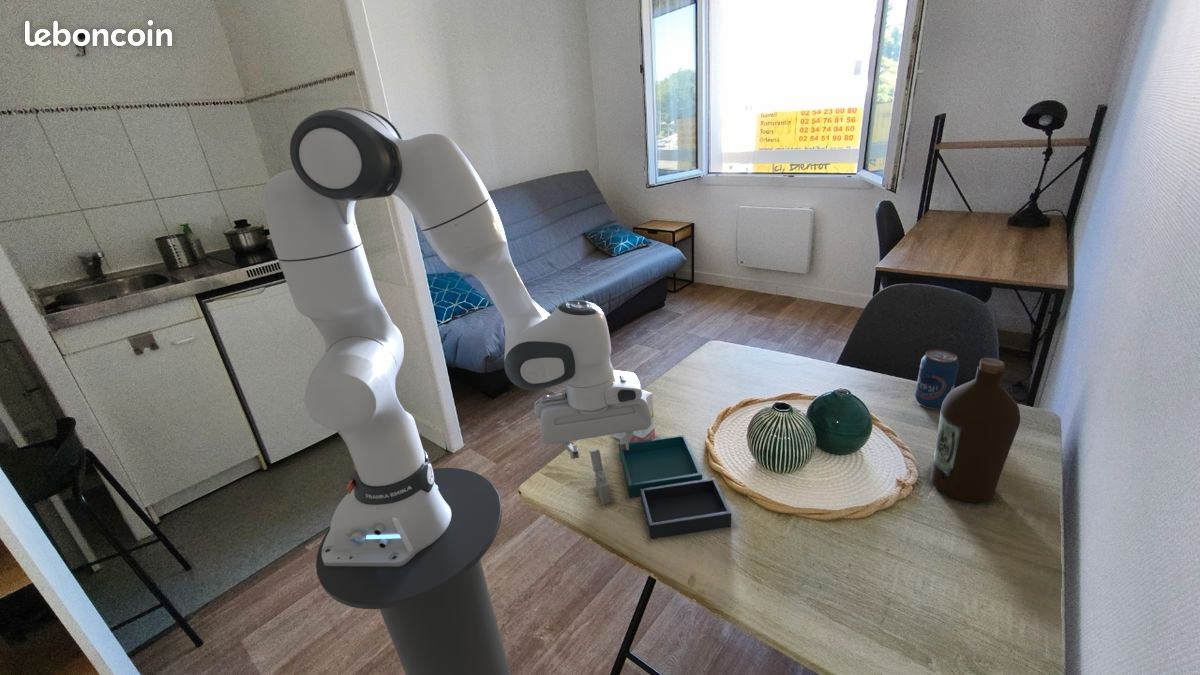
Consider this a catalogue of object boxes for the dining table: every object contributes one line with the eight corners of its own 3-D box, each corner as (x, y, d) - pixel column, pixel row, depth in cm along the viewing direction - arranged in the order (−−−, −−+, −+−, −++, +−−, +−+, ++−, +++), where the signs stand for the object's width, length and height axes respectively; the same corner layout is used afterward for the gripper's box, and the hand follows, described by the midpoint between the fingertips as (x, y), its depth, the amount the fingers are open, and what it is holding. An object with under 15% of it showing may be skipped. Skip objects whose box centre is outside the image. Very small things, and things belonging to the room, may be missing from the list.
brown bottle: (981, 467, 94) (1014, 347, 83) (1010, 508, 84) (1051, 379, 74) (917, 464, 96) (941, 347, 86) (939, 503, 87) (968, 377, 77)
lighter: (611, 502, 95) (607, 468, 92) (602, 504, 95) (598, 470, 91) (601, 478, 101) (597, 446, 98) (593, 480, 101) (589, 448, 98)
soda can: (908, 403, 114) (917, 356, 110) (920, 391, 118) (929, 345, 113) (943, 414, 109) (953, 366, 105) (954, 401, 113) (965, 354, 108)
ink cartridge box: (656, 438, 112) (653, 380, 106) (643, 449, 108) (639, 390, 102) (625, 426, 117) (621, 370, 111) (612, 437, 114) (606, 380, 108)
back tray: (629, 498, 95) (628, 485, 94) (619, 455, 107) (618, 443, 106) (702, 487, 96) (702, 474, 95) (684, 446, 108) (684, 434, 107)
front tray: (650, 539, 86) (649, 525, 85) (640, 501, 94) (639, 488, 93) (731, 527, 87) (731, 513, 85) (714, 490, 95) (714, 477, 94)
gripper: (531, 407, 85) (544, 472, 91) (650, 389, 86) (656, 454, 92) (532, 389, 91) (544, 451, 96) (643, 372, 92) (649, 434, 97)
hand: (599, 452), depth 94 cm, fingers open, 8 cm apart
